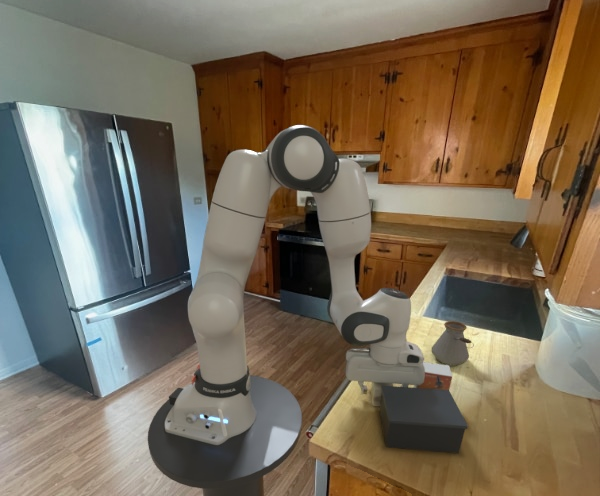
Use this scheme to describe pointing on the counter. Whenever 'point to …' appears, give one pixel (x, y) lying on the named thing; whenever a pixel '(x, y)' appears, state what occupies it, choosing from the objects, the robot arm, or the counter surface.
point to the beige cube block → (377, 392)
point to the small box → (436, 377)
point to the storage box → (421, 419)
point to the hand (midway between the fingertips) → (381, 393)
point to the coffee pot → (452, 345)
